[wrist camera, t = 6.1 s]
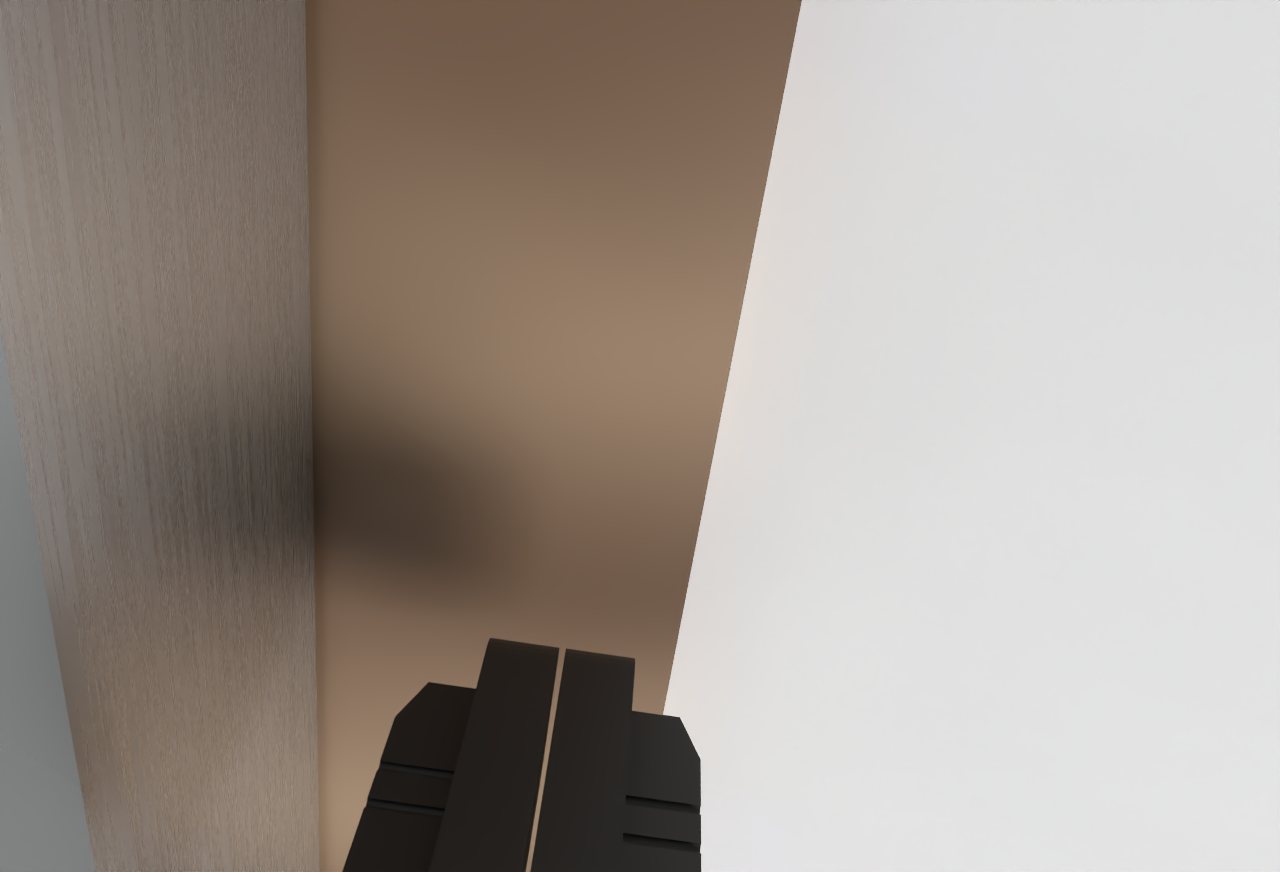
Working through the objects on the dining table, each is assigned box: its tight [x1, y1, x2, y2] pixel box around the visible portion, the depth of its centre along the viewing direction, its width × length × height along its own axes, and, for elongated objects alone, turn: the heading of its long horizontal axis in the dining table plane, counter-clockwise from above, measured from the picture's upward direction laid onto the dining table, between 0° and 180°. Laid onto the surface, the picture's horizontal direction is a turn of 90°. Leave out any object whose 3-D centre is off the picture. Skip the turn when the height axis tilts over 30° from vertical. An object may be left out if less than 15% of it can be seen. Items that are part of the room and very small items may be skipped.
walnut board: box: [305, 0, 802, 872], centre depth 13 cm, size 26×13×1 cm, turn 172°
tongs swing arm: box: [0, 0, 320, 872], centre depth 10 cm, size 20×2×5 cm, turn 172°
